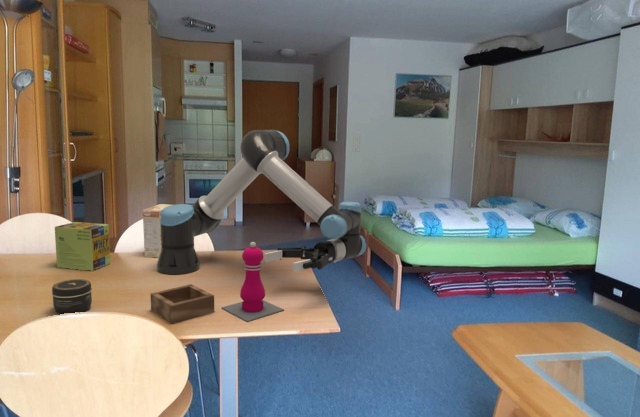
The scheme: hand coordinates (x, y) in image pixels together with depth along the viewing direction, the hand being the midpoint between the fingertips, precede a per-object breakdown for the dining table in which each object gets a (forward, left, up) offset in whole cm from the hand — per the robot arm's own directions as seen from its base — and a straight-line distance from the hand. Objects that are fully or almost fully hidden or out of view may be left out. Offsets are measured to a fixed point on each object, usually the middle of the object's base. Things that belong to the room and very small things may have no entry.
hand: (278, 262), depth 146 cm
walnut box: (-12, -26, -13) cm, 31 cm away
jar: (-33, -49, -13) cm, 60 cm away
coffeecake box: (-76, -2, -13) cm, 77 cm away
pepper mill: (0, -10, -12) cm, 16 cm away
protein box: (-76, -32, -13) cm, 83 cm away
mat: (0, -10, -13) cm, 16 cm away
